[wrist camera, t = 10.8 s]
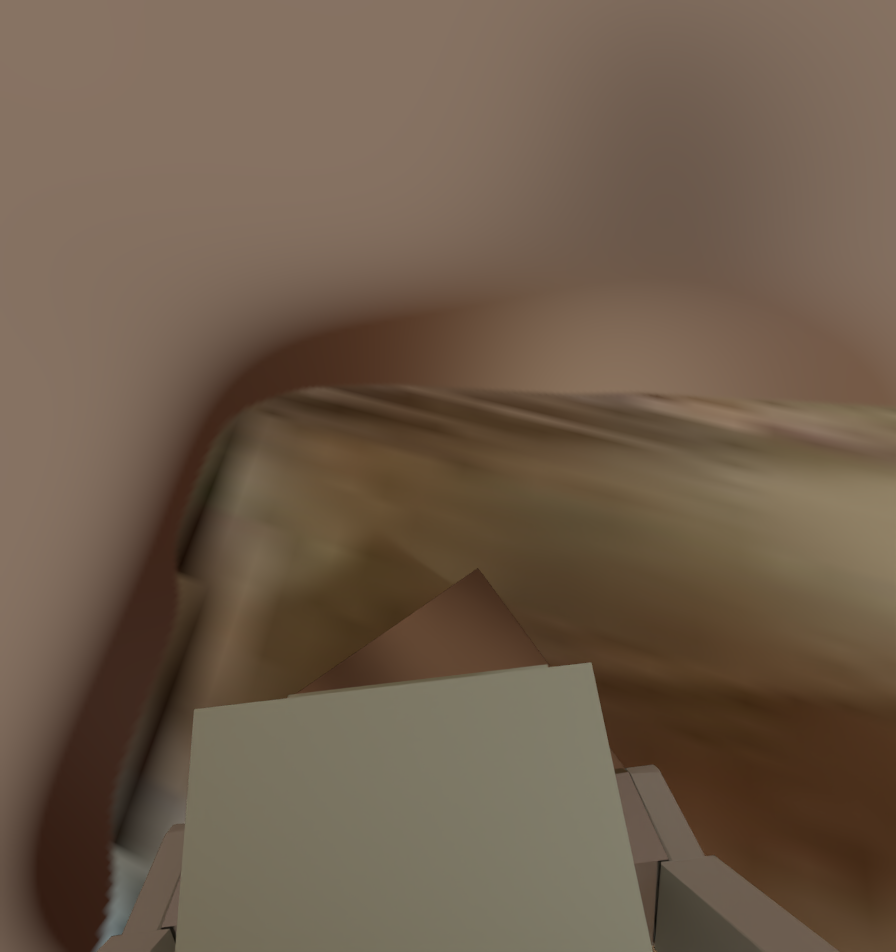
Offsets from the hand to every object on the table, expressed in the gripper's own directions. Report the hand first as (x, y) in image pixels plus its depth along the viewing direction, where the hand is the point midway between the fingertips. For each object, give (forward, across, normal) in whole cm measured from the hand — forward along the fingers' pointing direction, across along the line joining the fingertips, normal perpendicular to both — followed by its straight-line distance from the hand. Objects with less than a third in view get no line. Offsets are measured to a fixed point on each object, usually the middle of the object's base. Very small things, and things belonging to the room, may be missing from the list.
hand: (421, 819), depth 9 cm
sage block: (+3, 0, +4) cm, 4 cm away
